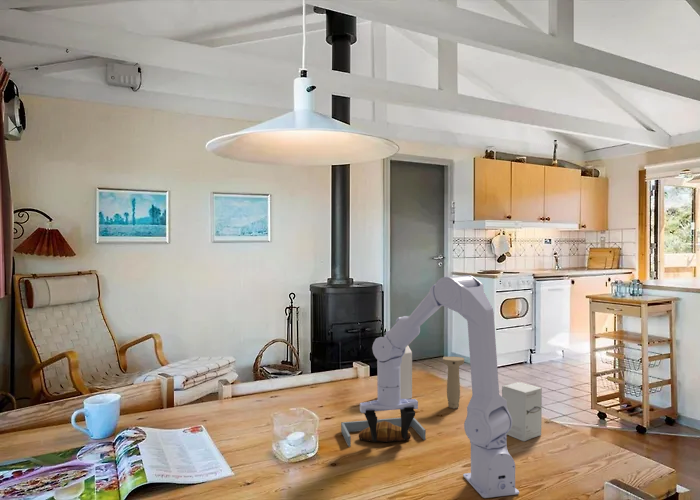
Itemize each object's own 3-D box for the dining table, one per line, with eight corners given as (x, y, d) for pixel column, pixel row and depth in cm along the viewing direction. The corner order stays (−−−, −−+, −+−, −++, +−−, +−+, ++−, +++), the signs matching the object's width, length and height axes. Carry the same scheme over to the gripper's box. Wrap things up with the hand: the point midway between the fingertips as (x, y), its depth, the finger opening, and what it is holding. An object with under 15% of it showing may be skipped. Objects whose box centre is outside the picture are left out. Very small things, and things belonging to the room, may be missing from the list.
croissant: (408, 434, 126) (408, 415, 126) (413, 445, 120) (412, 425, 120) (357, 435, 126) (357, 416, 126) (358, 446, 119) (358, 426, 119)
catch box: (425, 439, 123) (425, 429, 123) (348, 446, 119) (348, 436, 119) (413, 425, 132) (413, 416, 132) (341, 431, 128) (341, 422, 128)
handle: (464, 410, 144) (464, 360, 144) (443, 409, 145) (442, 360, 145) (463, 405, 149) (463, 357, 148) (442, 404, 150) (442, 356, 149)
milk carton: (382, 395, 158) (381, 338, 158) (399, 392, 161) (399, 336, 161) (393, 402, 152) (393, 342, 152) (412, 398, 155) (412, 340, 155)
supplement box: (524, 442, 121) (524, 392, 121) (500, 432, 127) (500, 385, 127) (542, 435, 125) (542, 387, 125) (518, 426, 131) (518, 380, 131)
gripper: (411, 378, 124) (411, 430, 125) (357, 381, 122) (357, 434, 122) (420, 386, 118) (420, 441, 118) (363, 390, 115) (363, 446, 115)
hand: (389, 438), depth 119 cm, fingers open, 7 cm apart
